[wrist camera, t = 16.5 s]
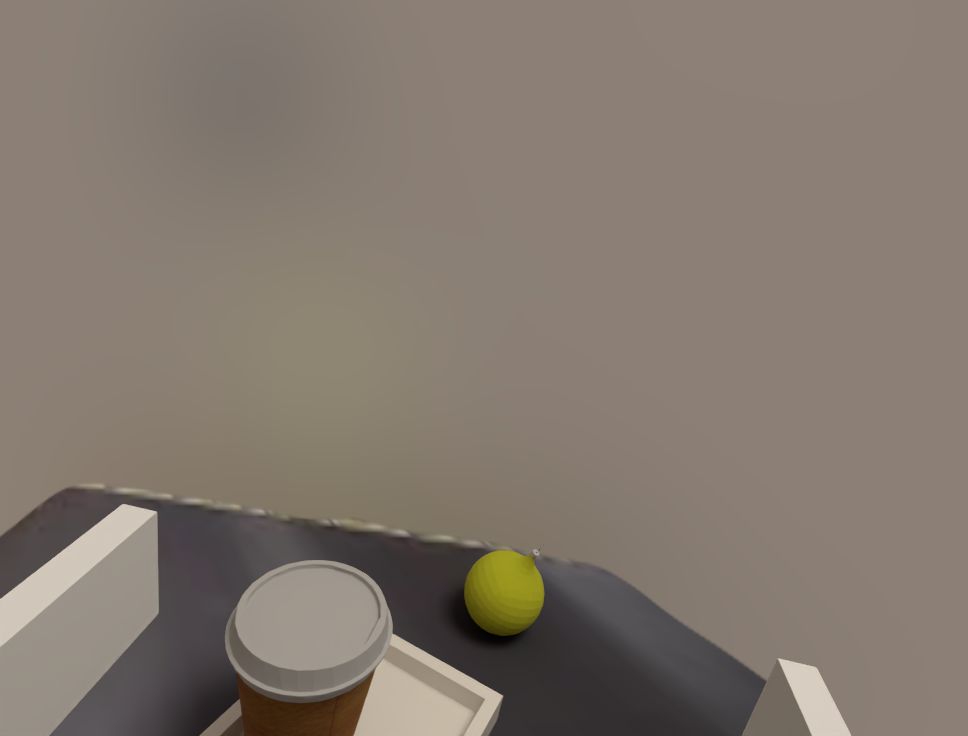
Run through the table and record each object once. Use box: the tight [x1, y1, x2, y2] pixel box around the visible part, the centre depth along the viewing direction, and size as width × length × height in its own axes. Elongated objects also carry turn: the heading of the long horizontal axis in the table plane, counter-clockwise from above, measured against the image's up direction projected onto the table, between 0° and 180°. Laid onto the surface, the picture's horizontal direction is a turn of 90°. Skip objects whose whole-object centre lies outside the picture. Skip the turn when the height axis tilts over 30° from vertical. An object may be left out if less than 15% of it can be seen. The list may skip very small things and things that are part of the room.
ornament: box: [464, 549, 544, 636], centre depth 52 cm, size 7×7×10 cm
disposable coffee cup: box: [225, 560, 393, 736], centre depth 36 cm, size 10×10×12 cm
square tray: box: [200, 634, 503, 736], centre depth 40 cm, size 15×15×2 cm
